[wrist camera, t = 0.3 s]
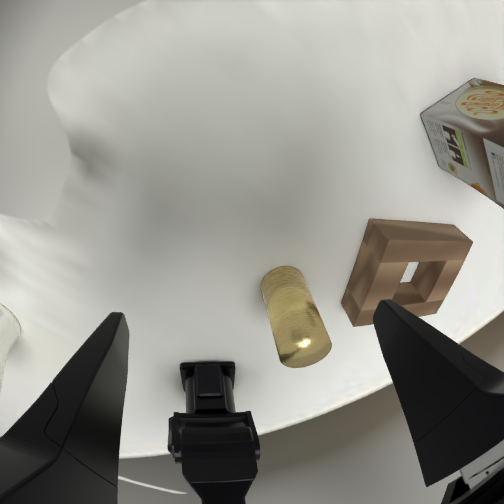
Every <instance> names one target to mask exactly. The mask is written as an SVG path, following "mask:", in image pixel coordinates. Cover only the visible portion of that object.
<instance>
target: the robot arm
mask: <svg viewBox="0 0 504 504" xmlns="http://www.w3.org/2000/svg"><path fill="white" fill-rule="evenodd" d="M373 323H374V327H375V330H376V333H377V337H378V340H379V344H380V347H381V351H382V354H383V357H384V360H385V362H386V365H387V367H388V370H389V373H390V375H391V378H392V381H393V383H394V386H395V389H396V392H397V394H398V397H399V400H400V403H401V406H402V409H403V412H404V415H405V417H406V420H407V424H408V426H409V430H410V433H411V436H412V439H413V442H414V446H415V449H416V453H417V456H418V460H419V463H420V467H421V470H422V474H423V478H424V482H425V485H426V487H428V486H430V485H432V484H434V483H436V482H438V481H440V480H442V479H444V478H445V477H447V476H449V475H451V474H453V473H454V472H456V471H458V470H459V471H460V473H461V476H460V477H458V478H457V479H456V480H454V481H452V482H451V483H449V484H448V486H447V489H446V492H445V495H444V497H443V500H442V503H441V504H504V372H502V371H501V370H499V369H497V368H496V367H494V366H492V365H490V364H489V363H487V362H485V361H484V360H482V359H480V358H479V357H477V356H475V355H474V354H472V353H471V352H469V351H468V350H466V349H465V348H464V347H462V346H461V345H458V343H456V342H455V341H453V340H452V339H450V338H449V337H447V336H446V335H444V334H443V333H441V332H440V331H438V330H437V329H436V328H434V327H433V326H431V325H430V324H428V323H427V322H425V321H423V320H422V319H420V318H419V317H417V316H416V315H414V314H413V313H411V312H410V311H408V310H407V309H405V308H404V307H402V306H401V305H399V304H397V303H396V302H394V301H393V300H391V299H382V300H380V301H379V303H378V305H377V307H376V310H375V312H374V314H373ZM128 349H129V329H128V326H127V322H126V319H125V315H124V314H123V313H122V312H112V313H110V314H109V315H108V316H107V317H106V319H105V320H104V321H103V322H102V323H101V324H100V325H99V326H98V328H97V329H96V330H95V331H94V332H93V333H92V334H91V336H90V337H89V338H88V339H87V340H86V341H85V342H84V344H83V345H82V346H81V347H80V348H79V349H78V351H77V352H76V353H75V354H74V355H73V356H72V358H71V359H70V360H69V361H68V362H67V364H66V365H65V366H64V367H63V368H62V370H61V371H60V372H59V373H58V375H57V376H56V377H55V378H54V379H53V381H52V383H50V384H49V386H48V387H47V388H46V389H45V391H44V392H43V393H42V394H41V395H40V397H39V398H38V399H37V400H36V401H35V402H34V403H33V405H32V406H31V407H30V408H29V409H28V410H27V411H26V412H25V413H24V414H23V415H22V416H21V417H20V418H19V419H18V421H17V422H16V423H15V424H14V425H13V426H12V427H11V428H10V429H9V430H8V431H7V432H6V433H5V434H4V435H3V436H2V437H0V504H117V491H118V489H117V488H118V487H117V486H118V463H119V448H120V436H121V425H122V416H123V407H124V399H125V391H126V384H127V374H128ZM180 372H181V377H182V383H183V388H184V391H185V392H186V413H179V412H174V416H173V417H171V418H169V435H168V451H169V452H170V453H171V454H172V455H173V458H175V463H176V464H182V473H183V476H184V479H185V481H186V483H187V484H188V485H189V486H190V488H191V489H192V490H193V492H194V493H195V494H196V495H197V496H198V498H199V499H200V500H201V502H202V504H245V496H246V494H247V492H248V490H249V488H250V486H251V484H252V482H253V480H254V479H255V477H256V474H257V472H258V469H257V462H256V461H259V458H260V444H259V438H258V435H257V431H256V428H255V425H254V421H253V418H252V415H251V411H246V412H236V411H235V404H234V396H233V388H234V377H235V363H233V362H225V363H184V364H181V365H180Z"/></svg>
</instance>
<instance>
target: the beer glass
mask: <svg viewBox="0 0 504 504" xmlns="http://www.w3.org/2000/svg"><path fill="white" fill-rule="evenodd" d="M20 331H21V329H20V325H19V323H18V321H17V319H16V318H15V316H14V315H13V314H12V313H11V312H10V311H9V310H8V309H7V308H6V307H4V306H3V305H1V304H0V393H1V388H2V381H3V375H4V369H5V363H6V359H7V356H8V353H9V350H10V348H11V346H12V345H13V343H14V342H15V341H16V339H17V338H18V336H19V334H20Z"/></svg>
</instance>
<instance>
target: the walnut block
mask: <svg viewBox="0 0 504 504" xmlns="http://www.w3.org/2000/svg"><path fill="white" fill-rule="evenodd" d="M472 243H473V241H471V240H470V239H469V238H468V237H467V236H466V235H465V234H464V233H463V232H461V231H460V230H459V229H458V228H457V227H456V226H454V225H449V224H437V223H425V222H411V221H396V220H380V219H369V222H368V226H367V229H366V232H365V235H364V238H363V242H362V245H361V248H360V251H359V254H358V257H357V260H356V263H355V266H354V269H353V272H352V274H351V277H350V280H349V283H348V286H347V288H346V291H345V294H344V297H343V299H342V302H341V304H342V306H343V308H344V310H345V312H346V313H347V315H348V317H349V319H350V321H351V323H352V325H353V327H356V326H364V325H371V324H374V323H373V314H374V312H375V310H376V307H377V305H378V303H379V301H380V300H382V299H391V300H393V301H394V302H396V303H397V304H399V305H401V306H402V307H404V308H405V309H407V310H408V311H410V312H411V313H413V314H414V315H416V316H417V317H420V316H426V315H431V314H436V313H437V311H438V309H439V308H440V306H441V304H442V302H443V301H444V299H445V297H446V295H447V294H448V292H449V290H450V288H451V286H452V284H453V282H454V281H455V279H456V277H457V275H458V273H459V271H460V269H461V267H462V265H463V263H464V261H465V259H466V256H467V254H468V252H469V250H470V248H471V246H472ZM409 262H419V265H418V267H417V269H416V271H415V274H414V276H413V278H412V280H411V282H406V283H400V281H401V279H402V276H403V274H404V272H405V270H406V267H407V265H408V263H409Z"/></svg>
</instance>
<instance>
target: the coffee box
mask: <svg viewBox="0 0 504 504" xmlns="http://www.w3.org/2000/svg"><path fill="white" fill-rule="evenodd" d="M421 117H422V120H423V123H424V125H425V128H426V130H427V133H428V136H429V138H430V141H431V144H432V147H433V149H434V152H435V155H436V158H437V161H438V164H439V167H440V168H441V169H443V170H445V171H447V172H449V173H450V174H452V175H454V176H455V177H457V178H459V179H460V180H462V181H463V182H465V183H467V184H468V185H470V186H471V187H473V188H475V189H476V190H478V191H479V192H480V193H482V194H483V195H485V196H486V197H488V198H489V199H491V200H492V201H494V202H495V203H496V204H498V205H499V206H501V207H502V208H503V209H504V85H501V84H497V83H493V82H489V81H485V80H481V79H477V78H474V79H472V80H471V81H469V82H468V83H466V84H465V85H463V86H462V87H460V88H459V89H457V90H456V91H454V92H453V93H451V94H450V95H448V96H447V97H445V98H444V99H442V100H441V101H439V102H438V103H436V104H435V105H433V106H432V107H430V108H429V109H427V110H426V111H425V112H423V113H422V114H421Z"/></svg>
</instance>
